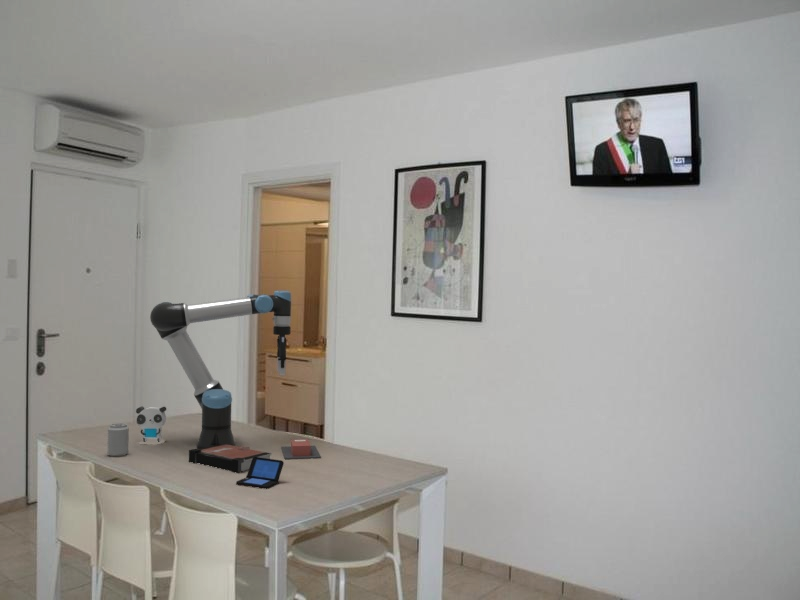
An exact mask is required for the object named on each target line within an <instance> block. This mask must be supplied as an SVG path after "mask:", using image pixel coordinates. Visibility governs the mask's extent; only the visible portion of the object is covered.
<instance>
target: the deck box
mask: <svg viewBox="0 0 800 600" xmlns="http://www.w3.org/2000/svg"><path fill="white" fill-rule="evenodd" d="M290 446H291V452H292V456H311V446H312V444H311V443H310V440H309V439H308V438H303V439H302V438H298V439H294V438H293V439H291V440H290Z"/></svg>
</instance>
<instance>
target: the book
mask: <svg viewBox="0 0 800 600" xmlns="http://www.w3.org/2000/svg"><path fill="white" fill-rule="evenodd" d="M272 455H273V454H272V453H271V452H266V451H261V450H256V449H251V448H250V447H249V446H242V447H241V446H236V445H235V446H231V445H226V444H220V445H216V446H211V447H206V448H202V449H197V448H191V449H189V450H188V463H190V462H193V463H192V464H197V463H200V464H199V465H202V464H204V465H203V466H206V465H209V466H208V467H211V466H212V467H211V468H215V467H217V468H216V469H219V468H221V469H220V470H224V469H225V471H228V470H229V472H231V473H235V472H236V474H240V473H239V472H241V473H243V471H244V472H248V471H249V468H250V465H251V462H252V459H253V458H254V457H260V458H267V459H271V456H272ZM247 470H248V471H247Z"/></svg>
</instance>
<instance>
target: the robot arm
mask: <svg viewBox="0 0 800 600" xmlns="http://www.w3.org/2000/svg"><path fill="white" fill-rule="evenodd" d="M267 313H273V317H272V318H271V319H272V321H273V325H274V326H273V327H272V329H273V331H272V332H273V335H275V336H277V339H276V345H277V346H276V347H277V353H276V357H277V358H276V373H278V376H284V377H285V376H286V367H287V366H286V365H287V364H286V363H287V362H286V361H287V350H286V348H287V341H288V340H287V337H286V336H288V335H291V326H290V325H292V292H290V291H289V290H274V292H273V294H248V295H246V296H245V297H236V298H229V299H222V300H215V301H208V302H199V303H192V304H191V303H190V304H186V303H185V302H180V303H172V302H170V301H169V302H168V301H162V302H160V303H158V304H156V305H155V306H154V307H153V308H152V309H151V312H150V317H149V319H150V323H151V325H152V326H153V327H154V328H155V329H156V331H157V333H158V335H159V336H160V338H161V339H162V340H163V341H167V343H168V344H169V346H170V348H171V350H172V352H173V353H174V355H175V357H176V359H177V360H178V362H179V364H180V366H181V367H182V369H183V371H184V372H185V375H186V376H187V378H188V380H189V382H190V383H191V385H192V387H193V388H194V393H193V396H194V398H195V399H196V401H197V403H198V405H199V407H200V408H201V430H200V434H199V437H198V441H197V442H196V449H202V448H206V447H211V446H216V445H220V444H226V445H231V446H236V441H235V440H234V435H233V432H232V402H233V397H232V392H230V390H225V389H224V388H223V387H222V384H221V383H220V381H219V380H216V379H214V377H213V376H212V373H211V372H210V371H209V368H208V367H207V365H206V363H205V362H204V360H203V357H201V354H200V353H199V351H198V350H197V348H196V346H195V344H194V343H193V340H192V338H191V337H190V335H189V333H188V331H187V328H188V326H189V325H190V324H193V323H194V324H195V323H201V322H203V323H204V322H209V321H216V320H221V319H230V318H237V317H243V316H250V315H257V314H258V315H259V314H267Z"/></svg>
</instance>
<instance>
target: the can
mask: <svg viewBox="0 0 800 600" xmlns="http://www.w3.org/2000/svg"><path fill="white" fill-rule="evenodd" d="M129 429H130V428H129V426H128V424H127V423H125V422H117V423H110V425H109V427H108V429H107V454H108V456H110V457H114V456H117V457H121V456H120V455H124V456H126V455H127V454H128V453H129V443H130V442H129V440H130V439H129V438H130V437H129V432H130V431H129ZM125 454H126V455H125Z"/></svg>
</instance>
